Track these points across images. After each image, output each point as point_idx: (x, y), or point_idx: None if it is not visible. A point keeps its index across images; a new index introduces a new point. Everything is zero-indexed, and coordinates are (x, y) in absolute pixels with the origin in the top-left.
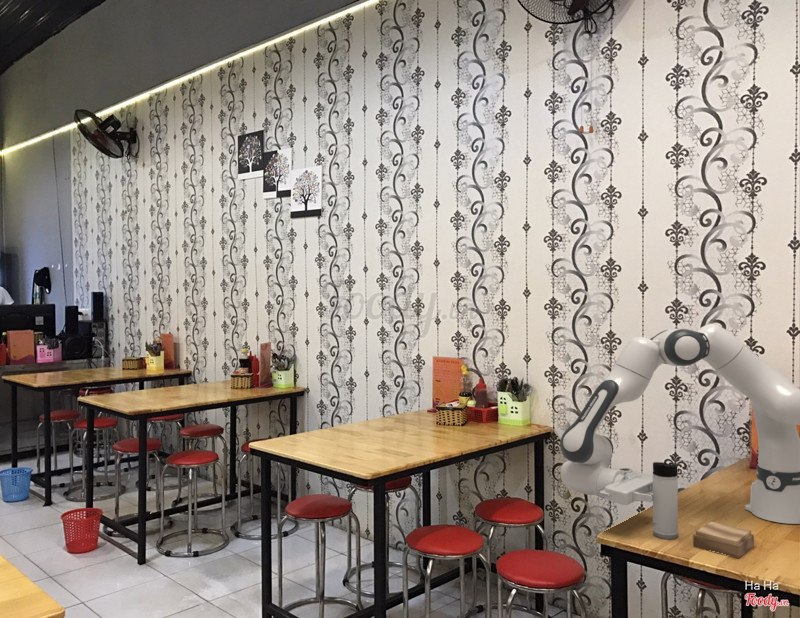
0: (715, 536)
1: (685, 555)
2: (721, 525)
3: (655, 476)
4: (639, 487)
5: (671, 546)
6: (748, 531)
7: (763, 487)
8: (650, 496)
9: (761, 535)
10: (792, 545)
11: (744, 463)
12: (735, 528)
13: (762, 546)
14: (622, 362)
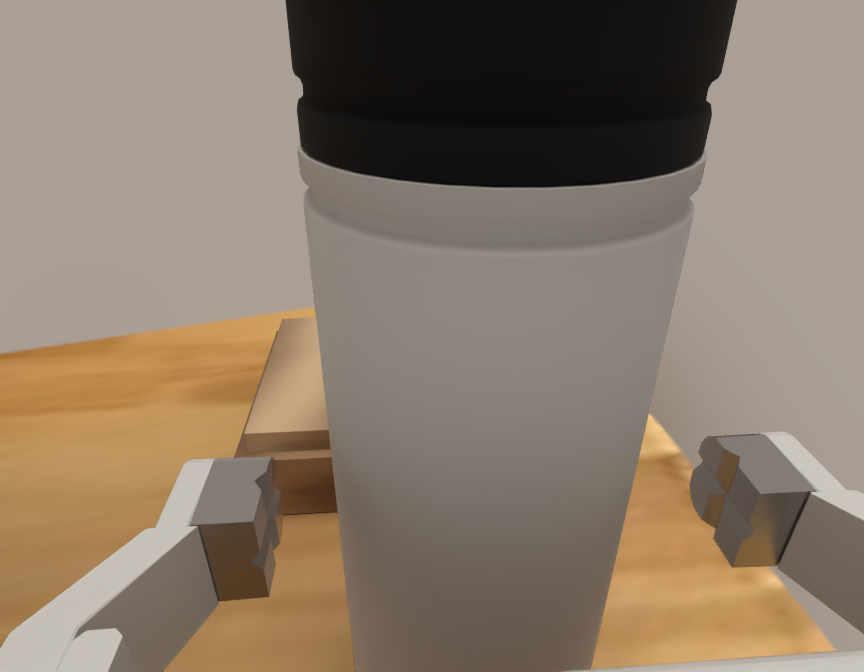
0: None
1: (648, 478)
2: (285, 388)
3: (700, 175)
4: (807, 653)
5: (618, 575)
6: (297, 321)
7: None
8: (782, 438)
9: (108, 395)
10: (186, 327)
11: None
12: (290, 350)
13: (262, 363)
14: None
